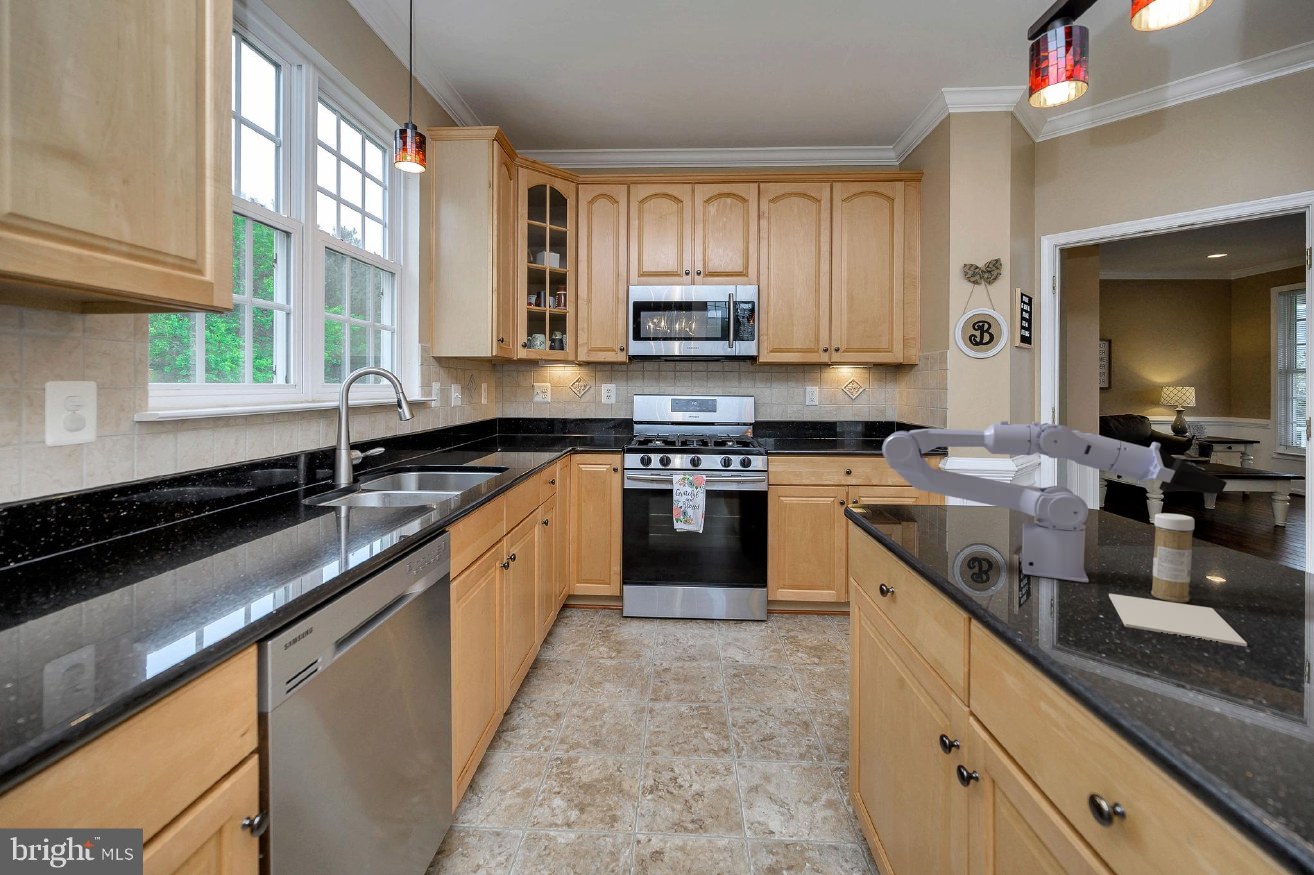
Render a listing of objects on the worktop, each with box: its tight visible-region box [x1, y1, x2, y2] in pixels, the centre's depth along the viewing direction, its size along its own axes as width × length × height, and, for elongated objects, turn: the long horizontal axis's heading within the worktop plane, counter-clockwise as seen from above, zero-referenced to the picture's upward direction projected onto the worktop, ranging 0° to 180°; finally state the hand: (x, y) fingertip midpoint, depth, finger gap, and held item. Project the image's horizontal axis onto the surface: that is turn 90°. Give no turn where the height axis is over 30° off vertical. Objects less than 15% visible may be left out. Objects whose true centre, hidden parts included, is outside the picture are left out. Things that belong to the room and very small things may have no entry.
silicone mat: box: [1108, 593, 1248, 647], centre depth 79 cm, size 12×14×1 cm
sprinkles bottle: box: [1150, 512, 1195, 604], centre depth 86 cm, size 5×5×13 cm
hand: (1213, 482), depth 89 cm, fingers open, 7 cm apart
